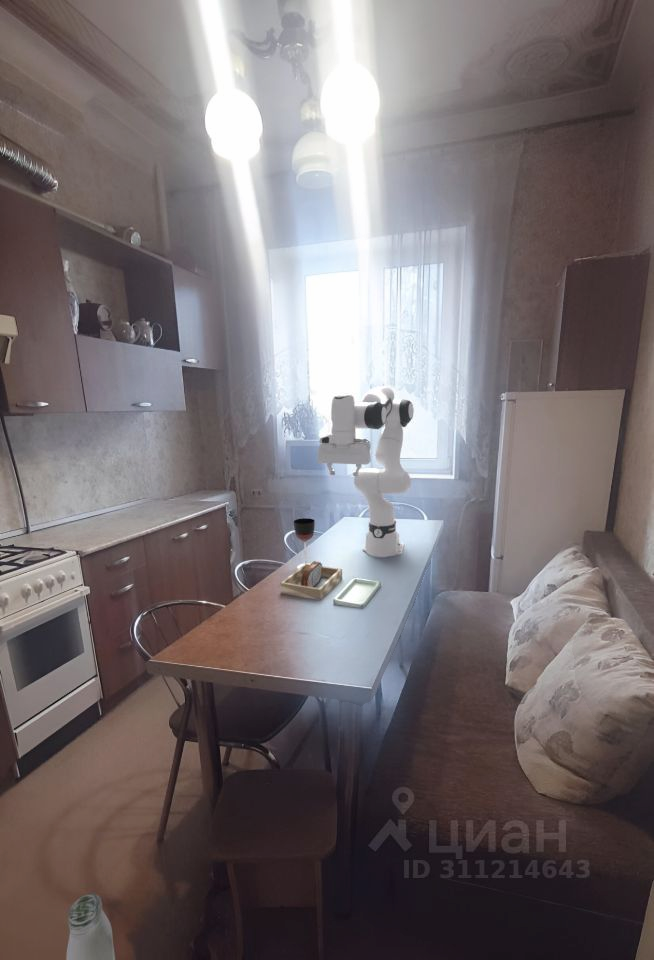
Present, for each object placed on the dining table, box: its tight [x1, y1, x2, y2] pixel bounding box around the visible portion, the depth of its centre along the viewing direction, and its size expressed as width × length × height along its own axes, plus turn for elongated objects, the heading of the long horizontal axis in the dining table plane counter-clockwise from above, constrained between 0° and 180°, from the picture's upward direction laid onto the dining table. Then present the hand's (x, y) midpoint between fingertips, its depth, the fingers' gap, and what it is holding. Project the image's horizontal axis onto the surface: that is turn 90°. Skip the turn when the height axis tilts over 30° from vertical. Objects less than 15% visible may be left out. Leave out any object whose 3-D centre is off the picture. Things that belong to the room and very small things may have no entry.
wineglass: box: [293, 517, 316, 570], centre depth 182 cm, size 8×9×20 cm
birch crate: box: [279, 563, 343, 601], centre depth 164 cm, size 20×16×4 cm
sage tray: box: [332, 577, 382, 609], centre depth 155 cm, size 20×11×2 cm, turn 156°
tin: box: [300, 560, 323, 588], centre depth 164 cm, size 15×3×8 cm, turn 158°
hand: (344, 475), depth 163 cm, fingers open, 8 cm apart
